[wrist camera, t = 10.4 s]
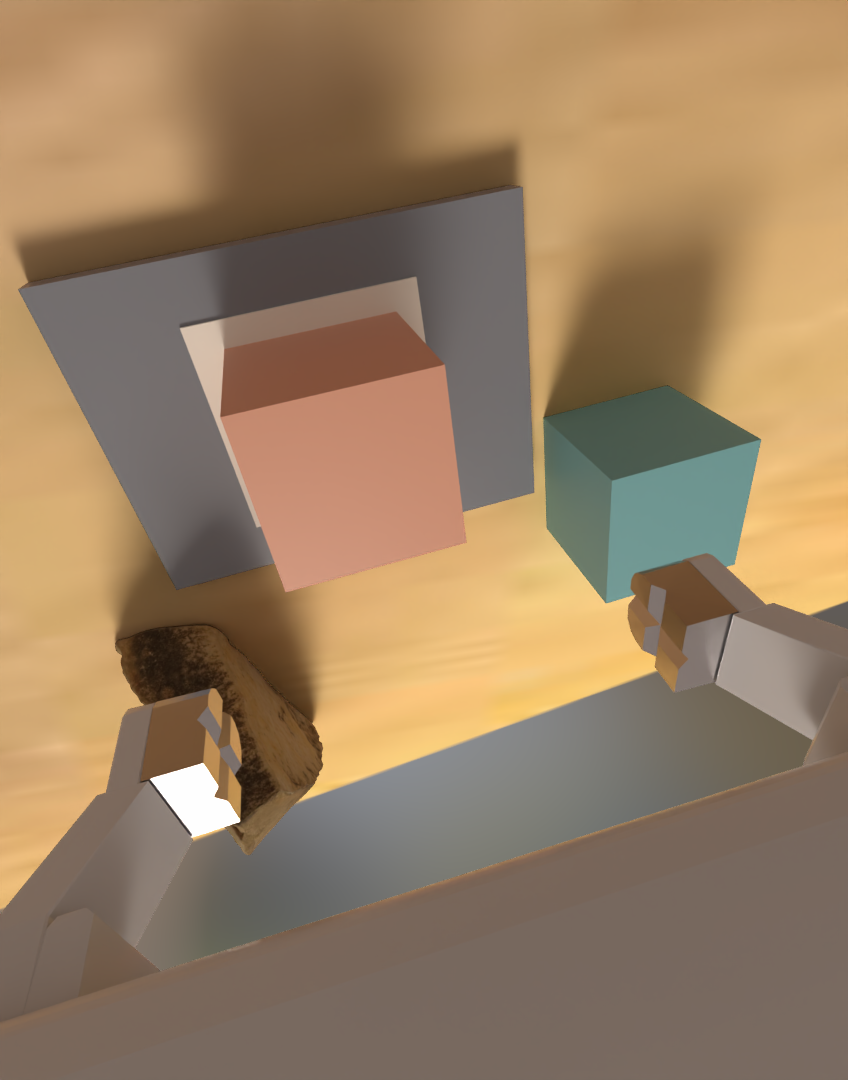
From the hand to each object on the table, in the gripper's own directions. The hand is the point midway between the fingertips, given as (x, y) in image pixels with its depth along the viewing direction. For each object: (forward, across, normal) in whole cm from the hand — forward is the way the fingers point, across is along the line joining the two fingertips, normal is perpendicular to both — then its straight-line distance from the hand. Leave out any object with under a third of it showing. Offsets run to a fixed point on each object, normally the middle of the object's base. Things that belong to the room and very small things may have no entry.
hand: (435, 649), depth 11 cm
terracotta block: (+13, +1, 0) cm, 13 cm away
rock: (+14, +9, +14) cm, 22 cm away
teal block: (+15, -11, +6) cm, 20 cm away
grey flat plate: (+14, +1, 0) cm, 14 cm away
